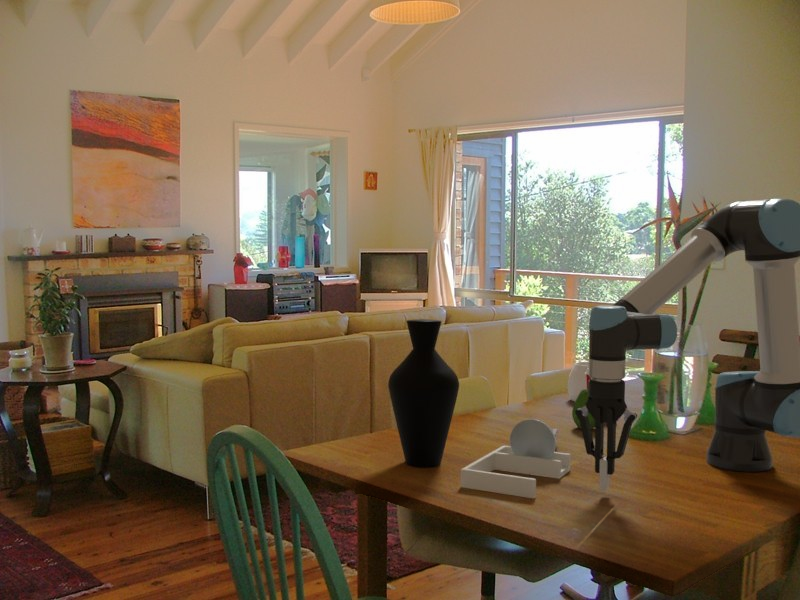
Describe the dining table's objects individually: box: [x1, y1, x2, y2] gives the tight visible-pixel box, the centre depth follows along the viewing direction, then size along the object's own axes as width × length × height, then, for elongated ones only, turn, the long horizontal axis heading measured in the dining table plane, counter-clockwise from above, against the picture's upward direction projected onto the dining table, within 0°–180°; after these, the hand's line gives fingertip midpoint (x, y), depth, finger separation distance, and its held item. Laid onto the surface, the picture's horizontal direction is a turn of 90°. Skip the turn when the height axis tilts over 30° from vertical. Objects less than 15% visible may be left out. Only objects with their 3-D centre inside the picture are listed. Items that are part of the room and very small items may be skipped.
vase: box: [387, 318, 460, 469], centre depth 205 cm, size 17×17×35 cm
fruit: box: [571, 389, 595, 430], centre depth 243 cm, size 8×8×12 cm
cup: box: [567, 361, 589, 403], centre depth 283 cm, size 13×13×14 cm
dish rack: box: [460, 445, 571, 499], centre depth 194 cm, size 17×25×4 cm
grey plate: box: [509, 418, 557, 459], centre depth 201 cm, size 11×1×11 cm, turn 61°
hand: (604, 488), depth 181 cm, fingers closed
